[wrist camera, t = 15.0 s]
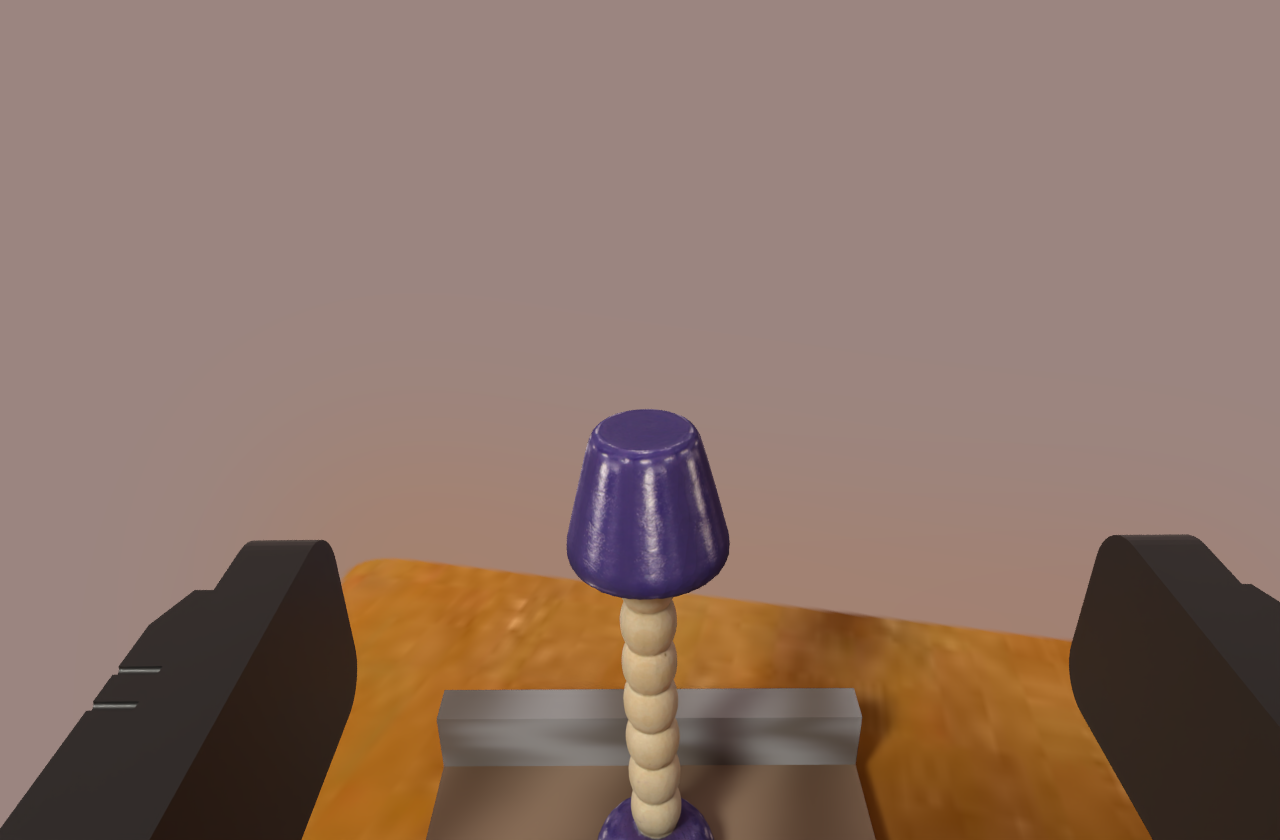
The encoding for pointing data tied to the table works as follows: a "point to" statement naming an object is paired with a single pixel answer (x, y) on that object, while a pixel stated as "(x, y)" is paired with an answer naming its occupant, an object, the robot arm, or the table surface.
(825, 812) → the track board
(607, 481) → the toy lamp
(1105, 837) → the table surface
